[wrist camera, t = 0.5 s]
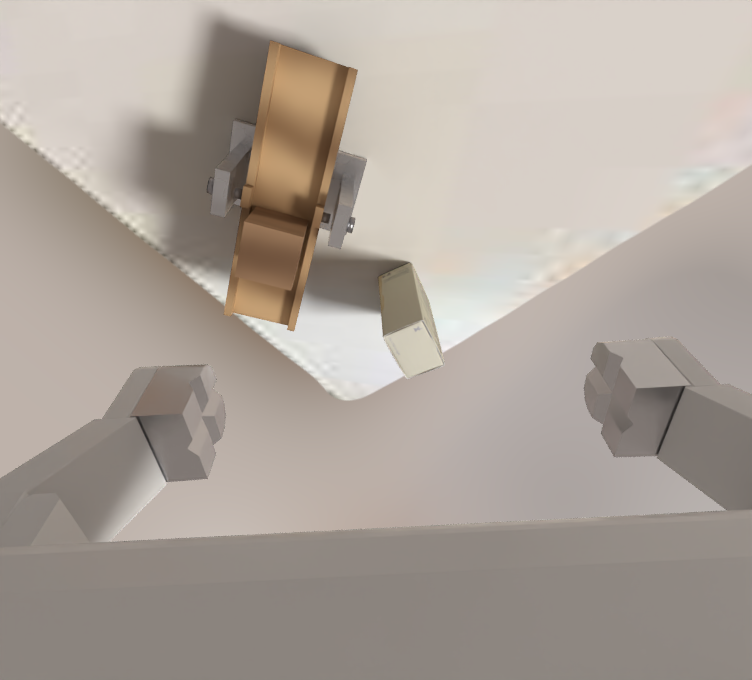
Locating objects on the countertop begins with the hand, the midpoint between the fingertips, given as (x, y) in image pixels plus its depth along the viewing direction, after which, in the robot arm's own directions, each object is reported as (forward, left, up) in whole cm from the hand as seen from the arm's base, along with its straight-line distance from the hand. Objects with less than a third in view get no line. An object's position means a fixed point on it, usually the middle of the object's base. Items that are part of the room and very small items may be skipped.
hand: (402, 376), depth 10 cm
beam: (+11, -6, -39) cm, 41 cm away
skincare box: (+19, +9, -42) cm, 47 cm away
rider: (+13, -6, -35) cm, 37 cm away
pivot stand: (+10, -6, -42) cm, 43 cm away
